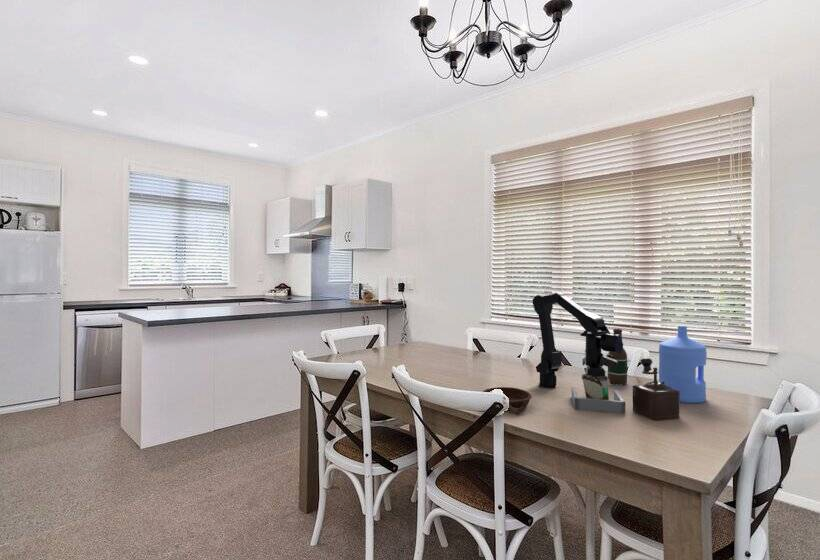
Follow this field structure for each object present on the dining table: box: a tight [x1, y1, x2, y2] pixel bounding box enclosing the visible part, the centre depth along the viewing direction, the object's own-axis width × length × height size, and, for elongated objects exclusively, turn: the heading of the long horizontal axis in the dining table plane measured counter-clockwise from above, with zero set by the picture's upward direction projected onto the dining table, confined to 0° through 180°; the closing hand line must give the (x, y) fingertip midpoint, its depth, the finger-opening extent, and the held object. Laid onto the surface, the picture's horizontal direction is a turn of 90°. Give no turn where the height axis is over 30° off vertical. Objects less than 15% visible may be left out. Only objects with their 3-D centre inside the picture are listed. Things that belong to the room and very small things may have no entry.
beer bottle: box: [607, 328, 628, 386], centre depth 185 cm, size 8×8×24 cm
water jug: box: [658, 325, 708, 404], centre depth 163 cm, size 16×16×28 cm
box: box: [571, 386, 626, 414], centre depth 155 cm, size 16×15×4 cm
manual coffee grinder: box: [632, 357, 681, 422], centre depth 147 cm, size 16×11×18 cm
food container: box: [581, 373, 611, 400], centre depth 156 cm, size 12×6×10 cm, turn 13°
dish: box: [482, 386, 533, 414], centre depth 154 cm, size 18×22×5 cm
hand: (592, 388), depth 163 cm, fingers closed
